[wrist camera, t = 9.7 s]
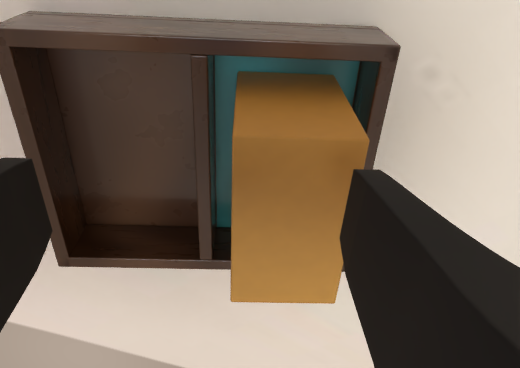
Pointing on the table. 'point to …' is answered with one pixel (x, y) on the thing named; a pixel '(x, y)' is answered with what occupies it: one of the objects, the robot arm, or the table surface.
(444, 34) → the table surface
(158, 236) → the organizer
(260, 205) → the carton
